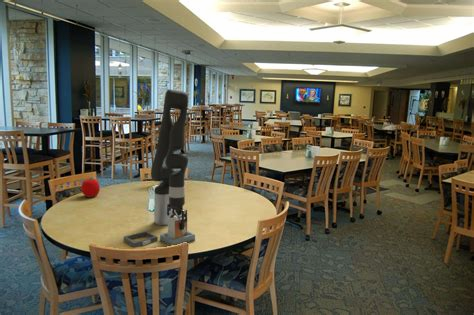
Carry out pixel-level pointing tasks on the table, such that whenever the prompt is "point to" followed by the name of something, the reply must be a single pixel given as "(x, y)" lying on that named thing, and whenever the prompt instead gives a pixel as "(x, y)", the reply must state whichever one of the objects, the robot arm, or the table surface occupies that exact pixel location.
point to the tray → (170, 242)
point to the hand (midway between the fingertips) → (176, 227)
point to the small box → (176, 228)
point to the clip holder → (141, 242)
